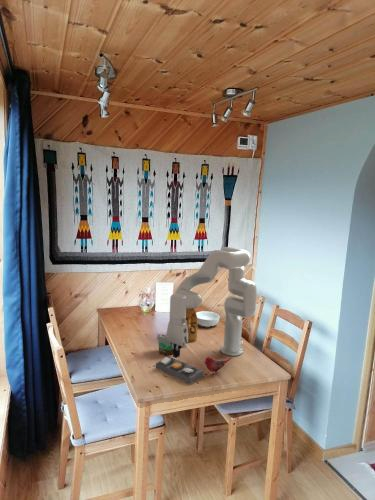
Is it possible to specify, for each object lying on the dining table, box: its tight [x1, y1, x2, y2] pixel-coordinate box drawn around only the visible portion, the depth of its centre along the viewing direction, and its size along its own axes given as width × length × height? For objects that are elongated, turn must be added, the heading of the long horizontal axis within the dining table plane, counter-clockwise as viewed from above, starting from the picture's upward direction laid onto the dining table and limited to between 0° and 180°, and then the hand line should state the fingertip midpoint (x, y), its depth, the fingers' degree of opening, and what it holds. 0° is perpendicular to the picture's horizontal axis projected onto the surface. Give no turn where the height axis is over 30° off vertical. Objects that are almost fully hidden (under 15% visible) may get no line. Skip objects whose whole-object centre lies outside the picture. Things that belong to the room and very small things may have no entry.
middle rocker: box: [172, 363, 182, 369], centre depth 180 cm, size 4×3×1 cm
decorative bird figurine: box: [203, 356, 233, 376], centre depth 182 cm, size 3×18×10 cm, turn 125°
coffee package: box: [186, 308, 199, 344], centre depth 223 cm, size 10×12×22 cm
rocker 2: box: [183, 368, 194, 373], centre depth 175 cm, size 4×3×1 cm
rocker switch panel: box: [155, 356, 204, 385], centre depth 181 cm, size 10×22×4 cm, turn 51°
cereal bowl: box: [196, 310, 221, 328], centre depth 249 cm, size 17×17×7 cm
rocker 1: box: [160, 356, 171, 365], centre depth 184 cm, size 4×3×1 cm
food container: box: [156, 332, 173, 357], centre depth 201 cm, size 12×6×10 cm, turn 68°
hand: (176, 356), depth 178 cm, fingers closed
